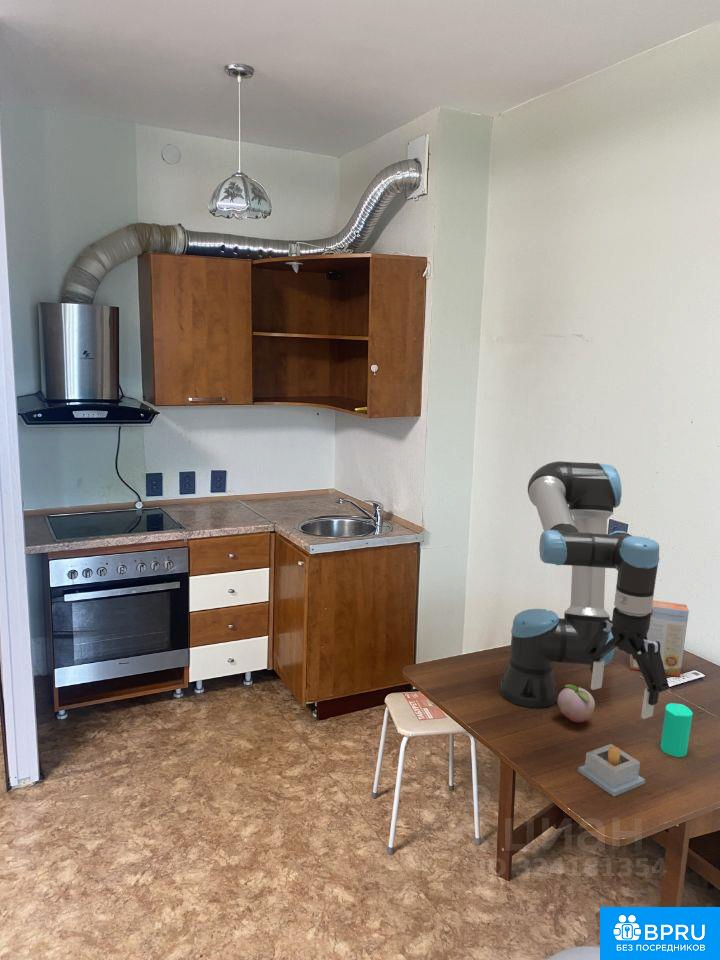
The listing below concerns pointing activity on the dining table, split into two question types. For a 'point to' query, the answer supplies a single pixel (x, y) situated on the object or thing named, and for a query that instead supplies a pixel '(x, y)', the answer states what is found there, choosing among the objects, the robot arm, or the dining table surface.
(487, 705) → the dining table surface
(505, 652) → the dining table surface
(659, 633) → the cracker box
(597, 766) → the gray square frame
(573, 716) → the decorative fruit
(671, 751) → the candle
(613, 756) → the keeper
